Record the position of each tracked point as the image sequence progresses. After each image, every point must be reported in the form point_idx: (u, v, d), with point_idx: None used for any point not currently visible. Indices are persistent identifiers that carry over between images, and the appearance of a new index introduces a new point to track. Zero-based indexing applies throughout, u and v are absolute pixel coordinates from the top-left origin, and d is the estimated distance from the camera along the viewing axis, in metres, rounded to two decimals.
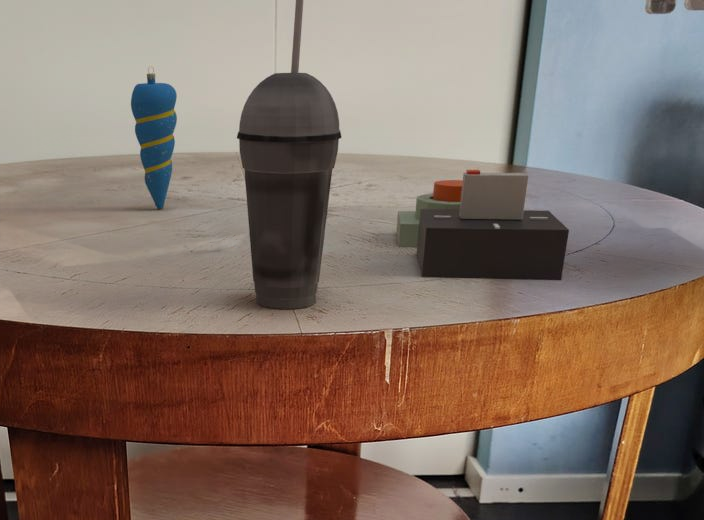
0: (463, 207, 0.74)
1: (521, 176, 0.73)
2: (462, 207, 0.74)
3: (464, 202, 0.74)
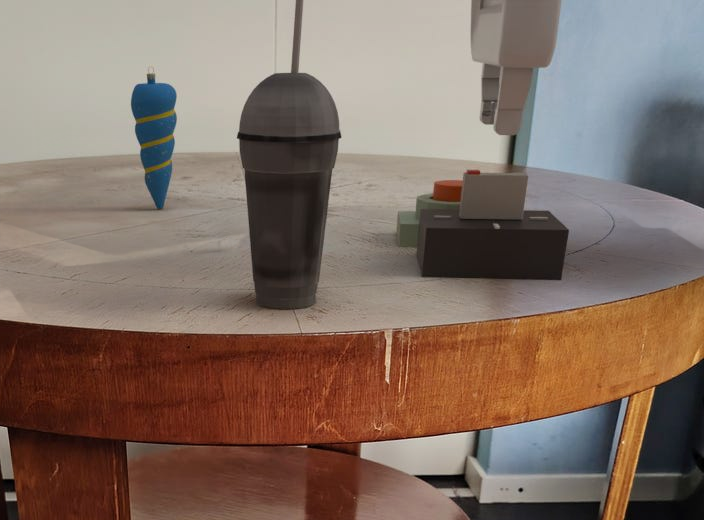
0: (463, 207, 0.74)
1: (521, 176, 0.73)
2: (462, 207, 0.74)
3: (464, 202, 0.74)
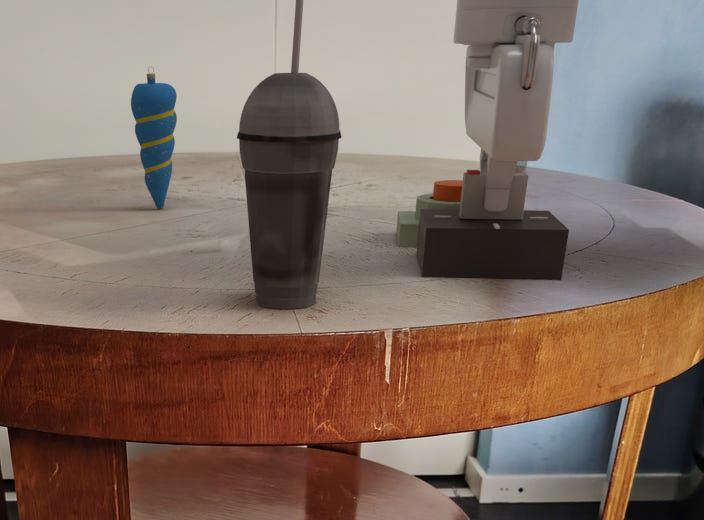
0: (463, 207, 0.74)
1: (521, 176, 0.73)
2: (462, 207, 0.74)
3: (464, 202, 0.74)
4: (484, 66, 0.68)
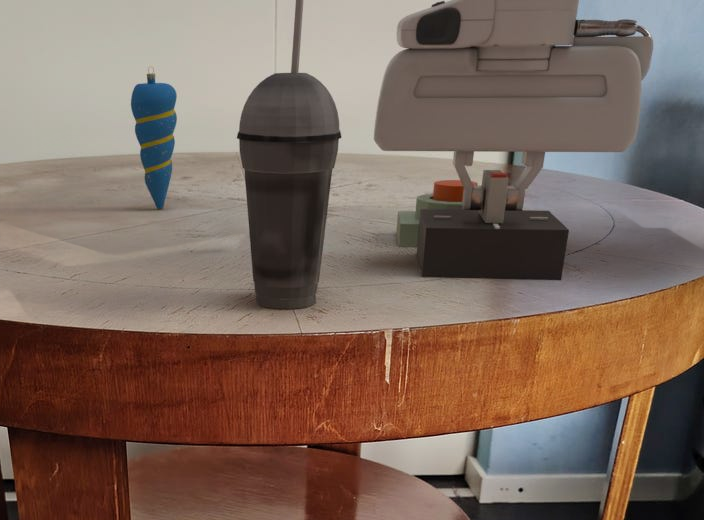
0: (503, 211, 0.72)
1: (501, 172, 0.75)
2: (503, 211, 0.72)
3: (504, 206, 0.72)
4: (544, 68, 0.68)
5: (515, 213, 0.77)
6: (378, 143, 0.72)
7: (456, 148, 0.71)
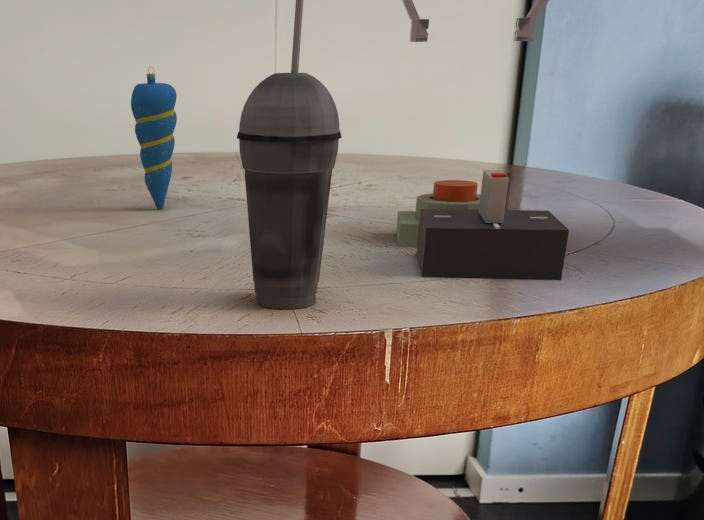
0: (503, 211, 0.72)
1: (501, 172, 0.75)
2: (503, 211, 0.72)
3: (504, 206, 0.72)
4: None
5: (515, 213, 0.77)
6: None
7: None
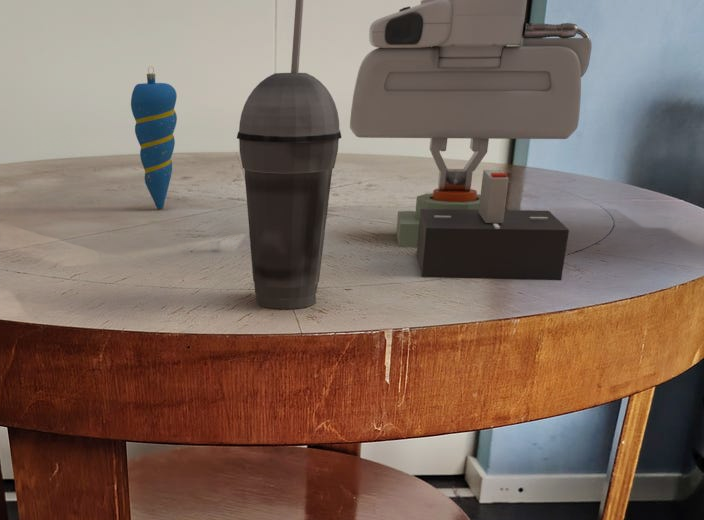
0: (503, 211, 0.72)
1: (501, 172, 0.75)
2: (503, 211, 0.72)
3: (504, 206, 0.72)
4: (496, 65, 0.78)
5: (515, 213, 0.77)
6: (353, 130, 0.82)
7: (421, 135, 0.82)
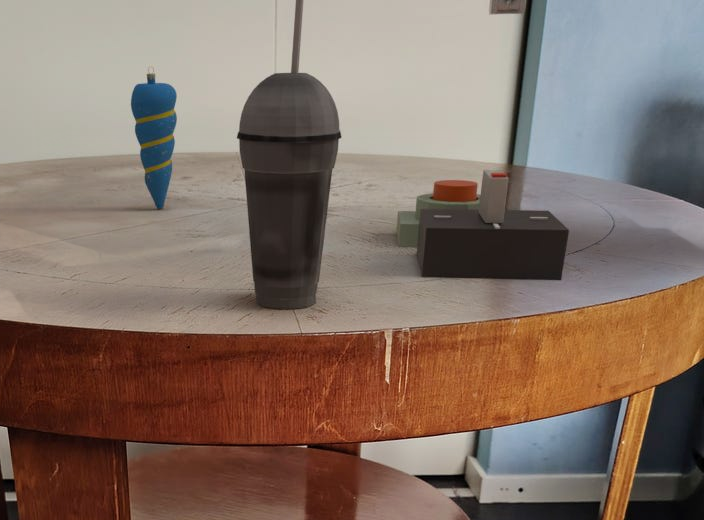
0: (503, 211, 0.72)
1: (501, 172, 0.75)
2: (503, 211, 0.72)
3: (504, 206, 0.72)
4: None
5: (515, 213, 0.77)
6: None
7: None
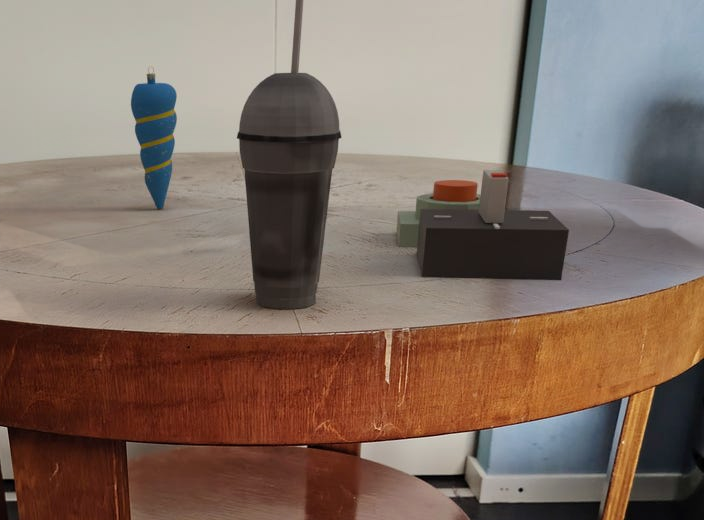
0: (503, 211, 0.72)
1: (501, 172, 0.75)
2: (503, 211, 0.72)
3: (504, 206, 0.72)
4: None
5: (515, 213, 0.77)
6: None
7: None
